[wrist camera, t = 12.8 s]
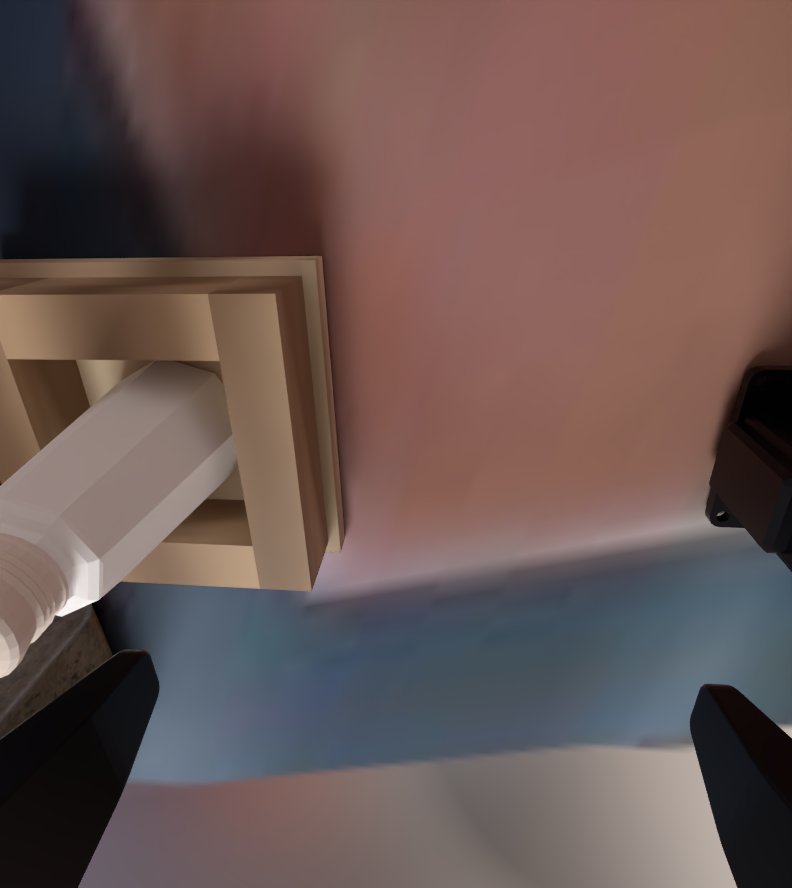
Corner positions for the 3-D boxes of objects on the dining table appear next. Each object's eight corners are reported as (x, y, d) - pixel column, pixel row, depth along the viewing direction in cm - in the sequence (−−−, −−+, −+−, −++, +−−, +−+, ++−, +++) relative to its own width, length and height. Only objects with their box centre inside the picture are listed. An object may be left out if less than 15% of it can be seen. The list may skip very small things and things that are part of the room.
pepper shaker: (277, 415, 20) (113, 640, 10) (210, 505, 22) (22, 760, 13) (152, 325, 19) (-165, 484, 9) (94, 429, 21) (-211, 645, 12)
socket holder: (321, 255, 18) (290, 275, 15) (344, 538, 24) (325, 601, 20) (1, 259, 20) (-99, 278, 16) (92, 527, 25) (32, 586, 21)
